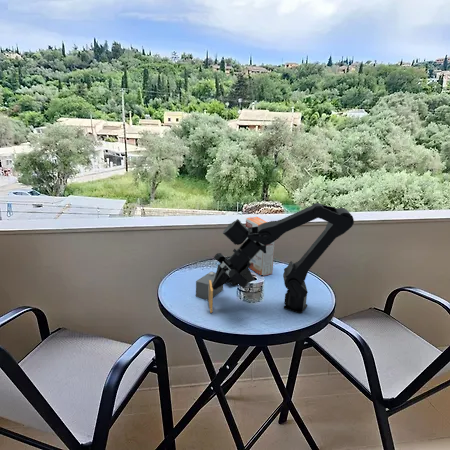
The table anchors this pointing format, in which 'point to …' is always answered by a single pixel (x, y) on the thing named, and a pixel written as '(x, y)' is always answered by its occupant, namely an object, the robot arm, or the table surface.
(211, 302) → the door
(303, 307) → the robot arm
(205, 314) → the table surface
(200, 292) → the block
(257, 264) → the cracker box
